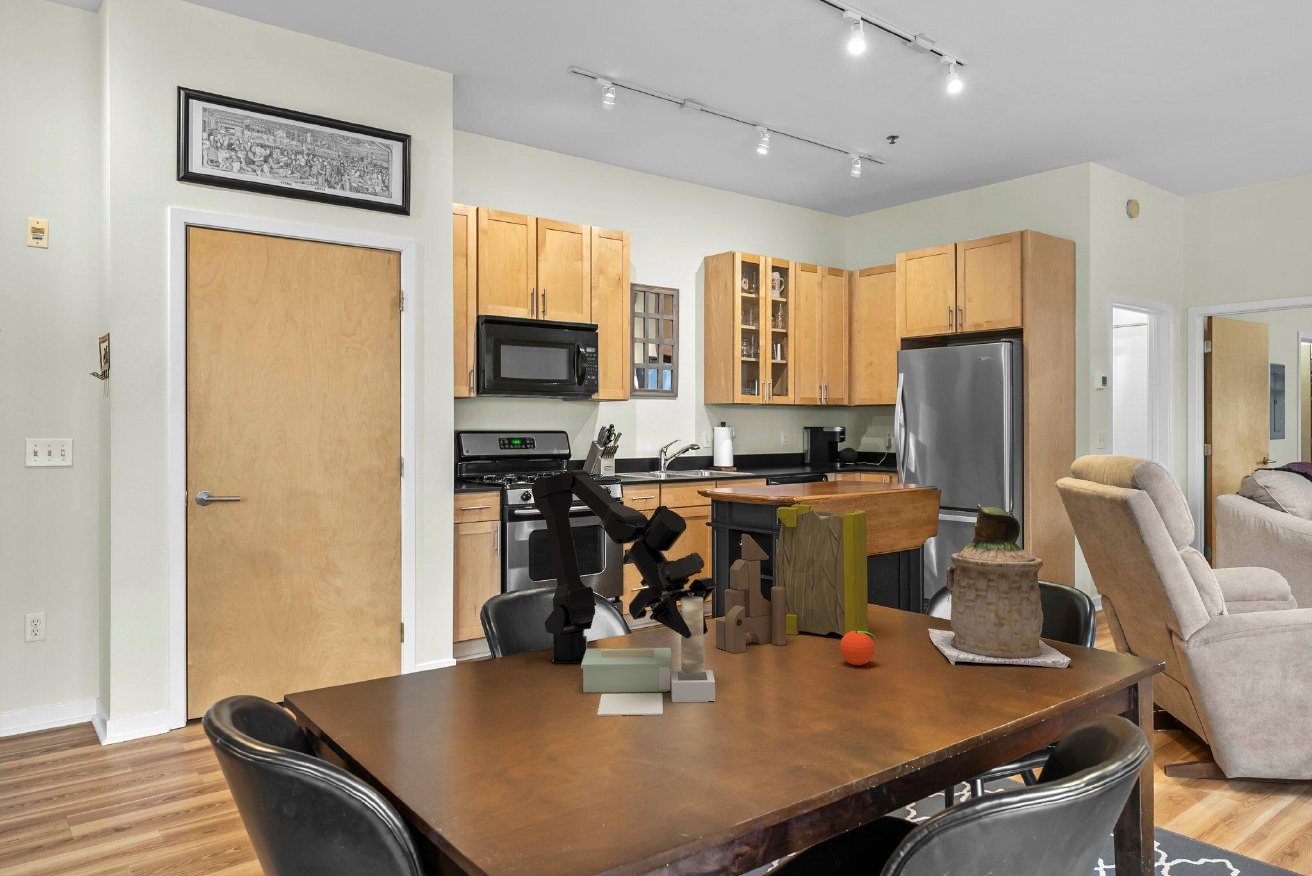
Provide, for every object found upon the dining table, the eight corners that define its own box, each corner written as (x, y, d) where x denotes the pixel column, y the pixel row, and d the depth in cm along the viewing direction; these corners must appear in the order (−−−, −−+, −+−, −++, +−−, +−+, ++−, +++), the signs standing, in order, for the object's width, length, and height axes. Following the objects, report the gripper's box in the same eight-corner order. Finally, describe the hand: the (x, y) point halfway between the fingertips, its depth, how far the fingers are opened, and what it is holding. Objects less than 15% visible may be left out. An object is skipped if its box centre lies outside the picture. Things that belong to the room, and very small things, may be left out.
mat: (597, 716, 137) (597, 714, 137) (601, 695, 148) (601, 694, 148) (662, 715, 137) (662, 713, 137) (662, 695, 148) (662, 693, 148)
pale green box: (578, 703, 144) (578, 667, 144) (586, 675, 162) (586, 642, 162) (715, 702, 144) (714, 665, 144) (708, 673, 162) (708, 641, 162)
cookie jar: (1075, 670, 162) (1073, 508, 162) (946, 666, 166) (944, 508, 166) (1037, 639, 186) (1035, 499, 186) (925, 637, 190) (923, 499, 190)
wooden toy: (733, 654, 176) (732, 538, 176) (715, 648, 182) (714, 535, 182) (789, 644, 184) (787, 533, 184) (770, 638, 190) (769, 531, 190)
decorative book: (871, 632, 194) (868, 506, 194) (856, 642, 185) (854, 510, 185) (791, 623, 205) (790, 504, 205) (774, 633, 195) (772, 507, 196)
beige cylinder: (681, 673, 146) (681, 600, 146) (681, 667, 150) (680, 596, 150) (704, 673, 146) (703, 600, 146) (702, 667, 150) (702, 596, 150)
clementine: (877, 660, 170) (876, 626, 170) (883, 670, 163) (882, 634, 163) (837, 660, 171) (837, 626, 171) (842, 669, 164) (841, 633, 164)
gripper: (639, 544, 144) (685, 616, 136) (709, 535, 157) (755, 600, 149) (609, 583, 150) (652, 655, 142) (679, 571, 163) (722, 636, 155)
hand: (697, 635), depth 147 cm, fingers closed on beige cylinder, 4 cm apart
